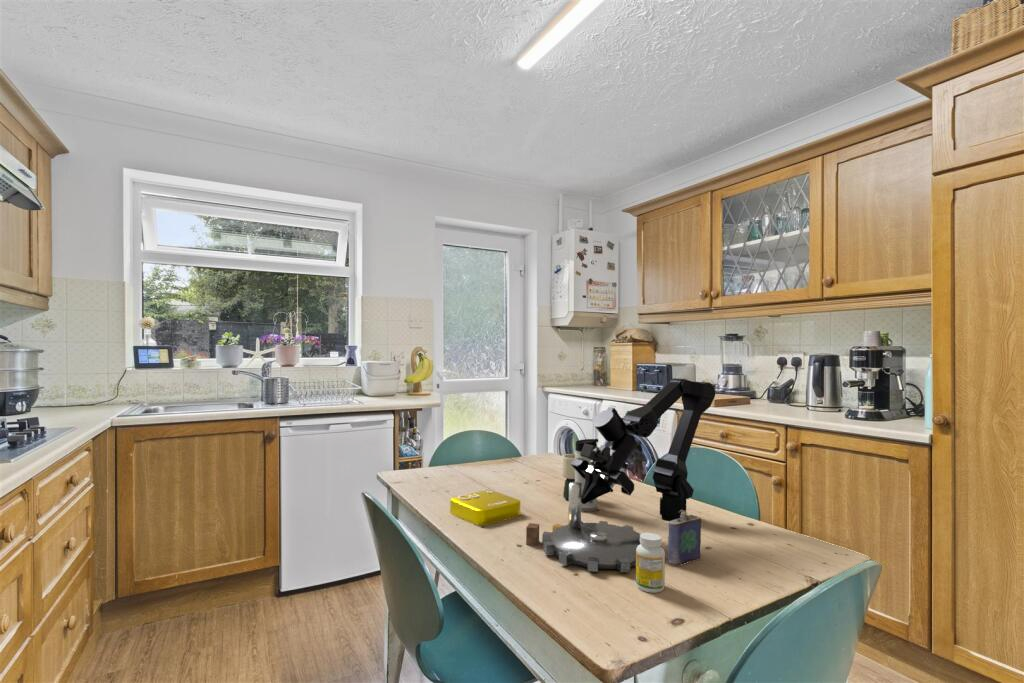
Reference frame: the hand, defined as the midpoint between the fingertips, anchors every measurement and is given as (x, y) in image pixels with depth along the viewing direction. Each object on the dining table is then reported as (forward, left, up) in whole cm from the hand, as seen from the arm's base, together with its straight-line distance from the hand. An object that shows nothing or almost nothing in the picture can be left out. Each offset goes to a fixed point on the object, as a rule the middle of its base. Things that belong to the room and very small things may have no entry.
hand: (581, 502), depth 123 cm
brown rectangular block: (+10, +7, -8) cm, 15 cm away
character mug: (+7, -32, -8) cm, 34 cm away
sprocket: (-5, +7, -8) cm, 12 cm away
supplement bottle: (-16, +22, -8) cm, 29 cm away
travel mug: (+2, -23, -8) cm, 24 cm away
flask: (-23, +7, -9) cm, 26 cm away
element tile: (+28, -10, -9) cm, 31 cm away
